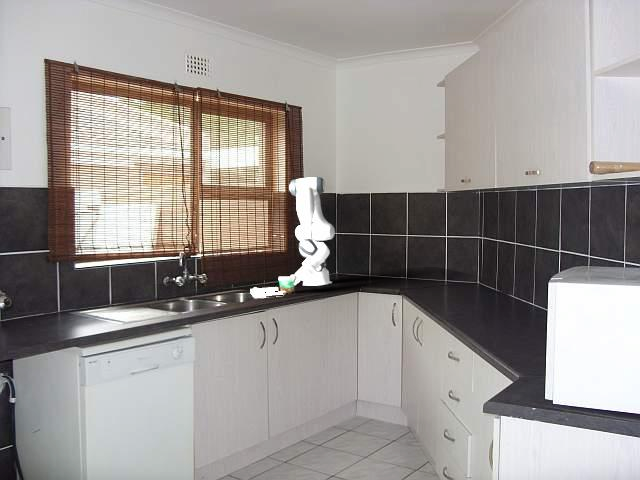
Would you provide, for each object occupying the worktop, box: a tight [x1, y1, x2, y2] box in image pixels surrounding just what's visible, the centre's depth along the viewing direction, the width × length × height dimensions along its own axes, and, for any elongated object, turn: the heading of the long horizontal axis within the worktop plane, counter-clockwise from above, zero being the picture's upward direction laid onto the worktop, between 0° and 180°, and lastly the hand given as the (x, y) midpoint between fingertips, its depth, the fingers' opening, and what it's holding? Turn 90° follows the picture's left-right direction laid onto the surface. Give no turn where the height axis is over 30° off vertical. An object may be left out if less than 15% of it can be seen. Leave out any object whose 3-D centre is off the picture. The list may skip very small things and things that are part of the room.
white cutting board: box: [250, 286, 284, 299], centre depth 375 cm, size 23×16×3 cm
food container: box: [278, 274, 296, 294], centre depth 377 cm, size 12×6×10 cm, turn 144°
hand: (293, 284), depth 378 cm, fingers closed
